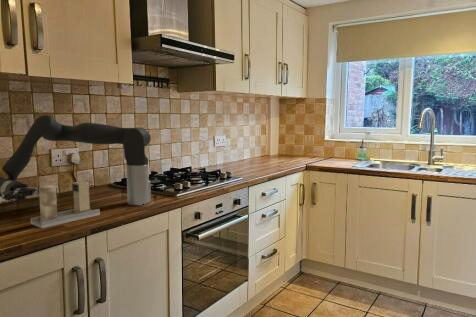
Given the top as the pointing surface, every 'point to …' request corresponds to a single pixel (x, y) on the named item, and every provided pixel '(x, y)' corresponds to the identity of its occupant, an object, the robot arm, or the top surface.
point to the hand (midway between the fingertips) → (33, 195)
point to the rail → (77, 213)
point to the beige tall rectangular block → (48, 202)
